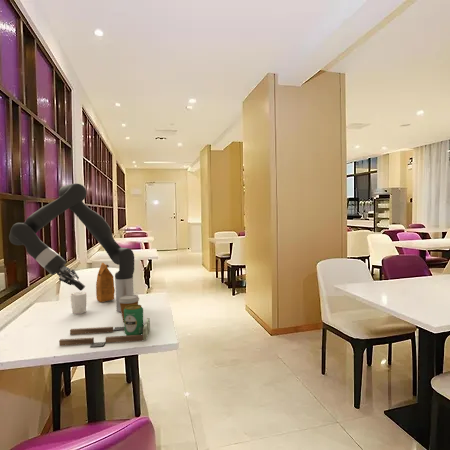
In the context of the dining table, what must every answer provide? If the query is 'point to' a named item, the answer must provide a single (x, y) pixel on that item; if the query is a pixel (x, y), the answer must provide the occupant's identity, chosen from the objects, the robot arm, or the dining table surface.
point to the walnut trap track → (108, 339)
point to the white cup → (78, 302)
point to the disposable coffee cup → (127, 302)
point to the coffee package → (104, 284)
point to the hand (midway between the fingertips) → (83, 288)
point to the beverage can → (133, 320)
